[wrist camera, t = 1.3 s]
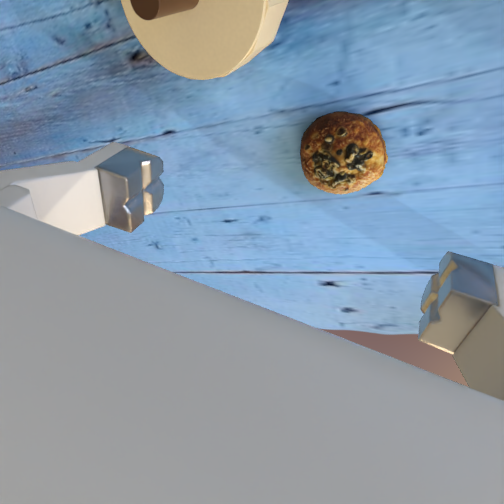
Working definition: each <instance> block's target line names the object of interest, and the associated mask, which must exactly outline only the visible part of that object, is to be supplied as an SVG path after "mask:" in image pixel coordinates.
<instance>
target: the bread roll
mask: <svg viewBox="0 0 504 504" xmlns="http://www.w3.org/2000/svg"><path fill="white" fill-rule="evenodd" d="M300 155H301V164H302V169H303V172H304V175H305V176H306V178H307V179H308V181H309V182H310V184H312V185H313V186H316V187H317V188H318V189H320V190H323V191H326V192H329V193H334V194H347V193H351V192H354V191H359V190H360V189H362V188H365V187H366V186H367V185H369V184H371V183H372V182H373V181H376V180H377V179H379V178H380V177H381V176H382V174H383V170H384V168H385V164H386V163H387V159H388V156H387V154H386V146H385V141H384V140H383V138H382V135H381V133H380V130H379V128H378V127H377V126H376V125H374V124H373V123H372V121H371V120H370V119H368V118H366V117H364V116H362V115H360V114H353V113H348V112H334V113H330V114H327V115H324V116H322V117H318V118H317V119H316V120H315V121H314V122H313V123H312V124H311V125H310V126H309V127H308V128H307V130H306V131H305V132H304V134H303V137H302V140H301V149H300Z"/></svg>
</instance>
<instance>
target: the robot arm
mask: <svg viewBox="0 0 504 504" xmlns="http://www.w3.org/2000/svg"><path fill="white" fill-rule="evenodd" d="M162 173H163V161H162V160H161V158H160V157H158V156H155V155H152V154H149V153H146V152H143V151H140V150H138V149H135V148H132V147H129V146H126V145H123V144H120V143H115V142H112V143H110V144H108V145H107V146H105V147H103V148H101V149H100V150H98V151H96V152H94V153H93V154H91V155H89V156H88V157H86V158H84V159H82V160H81V161H79V162H75V161H68V162H61V163H54V164H46V165H39V166H32V167H24V168H17V169H10V170H2V171H0V504H504V267H500V266H497V265H493V264H489V263H486V262H483V261H479V260H476V259H473V258H469V257H466V256H462V255H459V254H456V253H452V252H449V251H448V252H447V253H446V254H445V255H444V257H443V258H442V260H441V261H440V263H439V273H437V274H435V275H433V276H431V278H430V280H429V282H428V284H427V286H426V288H425V291H424V293H423V296H422V301H421V311H422V312H423V313H424V315H423V316H422V318H421V320H420V321H419V336H418V340H419V341H421V342H424V343H426V344H429V345H431V346H433V347H436V348H439V349H441V350H443V351H446V352H449V353H451V354H453V355H452V356H453V358H454V360H455V362H456V364H457V366H458V368H459V369H460V371H461V373H462V375H463V377H464V378H465V380H466V382H467V384H468V386H469V387H467V386H464V385H462V384H459V383H457V382H454V381H452V380H449V379H446V378H444V377H441V376H439V375H436V374H434V373H431V372H428V371H426V370H423V369H421V368H418V367H416V366H413V365H410V364H408V363H405V362H403V361H400V360H397V359H395V358H392V357H390V356H387V355H384V354H382V353H380V352H377V351H374V350H372V349H369V348H367V347H364V346H361V345H359V344H356V343H354V342H351V341H349V340H346V339H343V338H341V337H338V336H336V335H333V334H331V333H328V332H325V331H323V330H320V329H318V328H315V327H312V326H310V325H307V324H305V323H302V322H300V321H297V320H294V319H292V318H289V317H287V316H284V315H282V314H279V313H276V312H274V311H271V310H269V309H266V308H263V307H261V306H258V305H256V304H253V303H251V302H248V301H245V300H243V299H240V298H238V297H235V296H233V295H230V294H227V293H225V292H222V291H220V290H217V289H215V288H212V287H209V286H207V285H204V284H202V283H199V282H196V281H194V280H191V279H189V278H186V277H184V276H181V275H178V274H176V273H173V272H171V271H168V270H166V269H163V268H160V267H158V266H155V265H153V264H150V263H148V262H145V261H142V260H140V259H137V258H135V257H132V256H130V255H127V254H124V253H122V252H119V251H117V250H114V249H111V248H109V247H106V246H104V245H101V244H99V243H96V242H93V241H91V240H88V239H86V238H83V237H81V236H78V235H81V234H84V233H86V232H89V231H92V230H95V229H97V228H100V227H103V226H105V224H107V225H109V226H112V227H115V228H118V229H121V230H124V231H127V232H130V233H131V232H132V231H134V230H135V229H136V228H137V227H138V226H139V225H140V224H141V223H142V222H144V215H148V214H151V213H153V212H154V211H155V210H156V209H157V208H158V207H159V205H160V203H161V201H162V199H163V193H164V185H163V183H162V181H161V179H160V178H159V176H160V175H161V174H162Z"/></svg>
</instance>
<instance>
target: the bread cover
mask: <svg viewBox="0 0 504 504" xmlns="http://www.w3.org/2000/svg"><path fill="white" fill-rule="evenodd" d="M288 1H289V0H121V3H122V6H123V9H124V12H125V15H126V17H127V19H128V22H129V24H130V26H131V28H132V30H133V32H134V34H135V35H136V37H137V39H138V40H139V42H140V43H141V45H142V46H143V47H144V48H145V50H146V51H147V52H148V53H149V54H150V55H151V56H152V57H153V58H154V59H155V60H156V61H157V62H158V63H159V64H161V65H162V66H163V67H165V68H166V69H168V70H169V71H171V72H173V73H175V74H177V75H180V76H183V77H186V78H189V79H201V80H205V79H212V78H215V77H225V76H226V75H228V74H230V73H231V72H233V71H235V70H236V69H238V68H240V67H241V66H243V65H245V64H246V63H248V62H249V61H250V60H251V59H252V58H254V57H255V56H256V55H257V54H258V53H260V52H261V51H262V50H263V49H264V48H266V47H267V46H268V45H269V44H270V43H272V42H273V40H274V38H275V36H276V33H277V30H278V28H279V25H280V22H281V20H282V17H283V14H284V12H285V9H286V6H287V3H288Z"/></svg>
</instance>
